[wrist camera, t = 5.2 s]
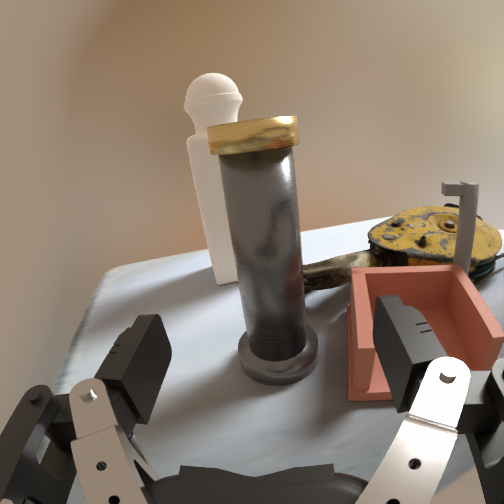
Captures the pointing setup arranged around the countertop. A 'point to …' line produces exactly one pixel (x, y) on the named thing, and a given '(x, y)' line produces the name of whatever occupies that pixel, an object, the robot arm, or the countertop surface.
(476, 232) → the pulley block
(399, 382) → the robot arm
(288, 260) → the tie-down post
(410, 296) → the keeper bracket
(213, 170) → the white square bottle
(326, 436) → the countertop surface
